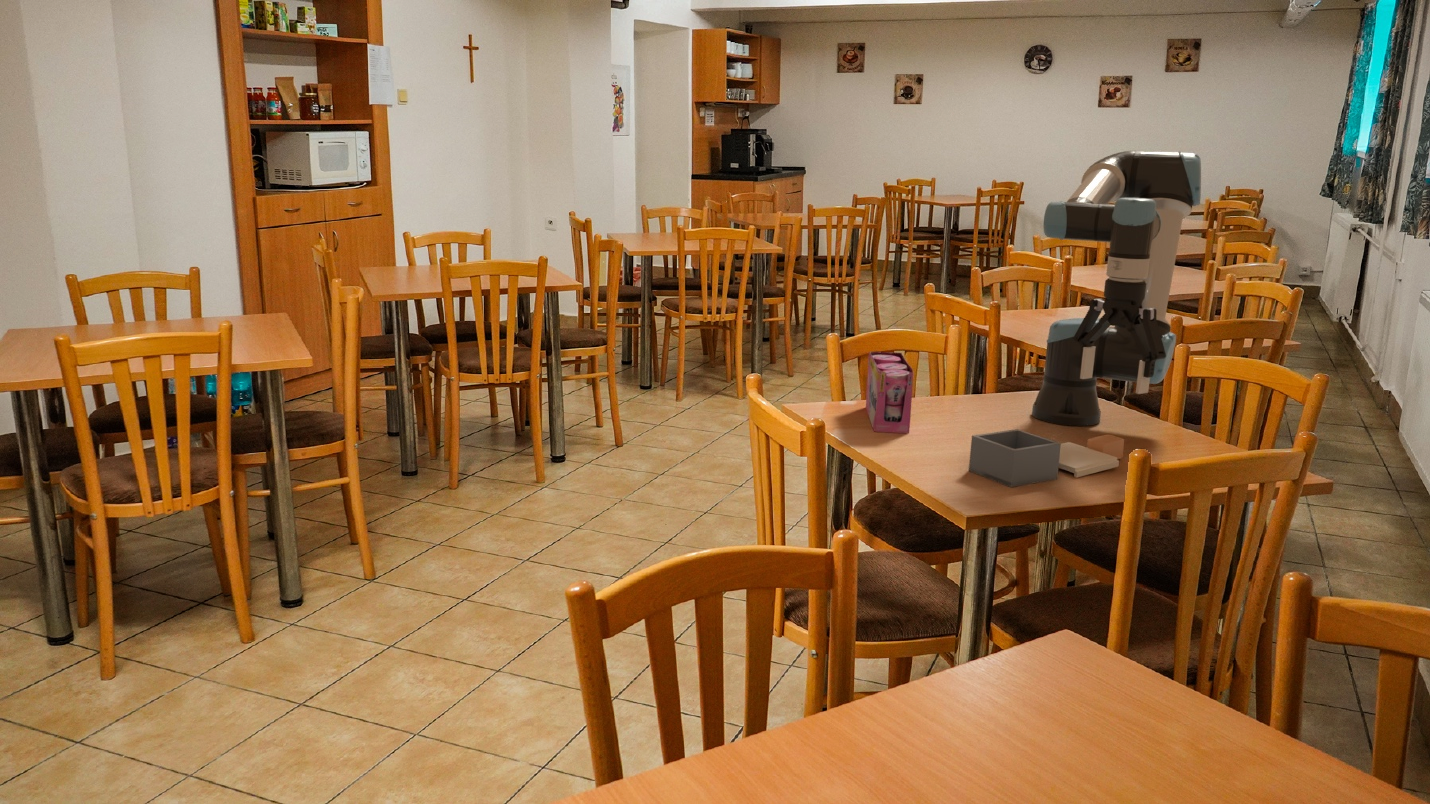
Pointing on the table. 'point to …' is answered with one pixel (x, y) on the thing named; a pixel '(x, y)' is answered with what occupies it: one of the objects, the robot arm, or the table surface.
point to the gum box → (889, 392)
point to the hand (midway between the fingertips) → (1113, 385)
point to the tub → (1014, 457)
